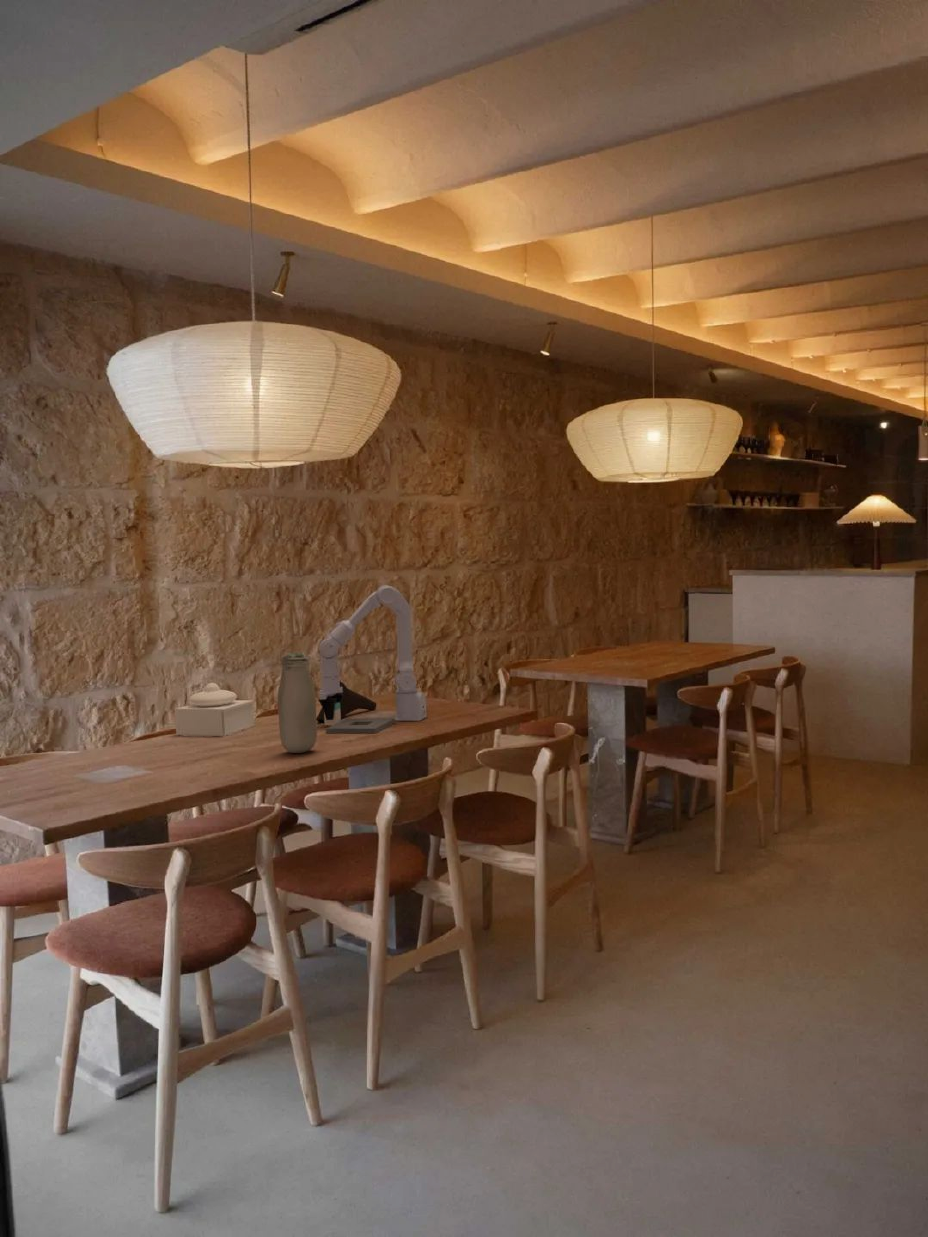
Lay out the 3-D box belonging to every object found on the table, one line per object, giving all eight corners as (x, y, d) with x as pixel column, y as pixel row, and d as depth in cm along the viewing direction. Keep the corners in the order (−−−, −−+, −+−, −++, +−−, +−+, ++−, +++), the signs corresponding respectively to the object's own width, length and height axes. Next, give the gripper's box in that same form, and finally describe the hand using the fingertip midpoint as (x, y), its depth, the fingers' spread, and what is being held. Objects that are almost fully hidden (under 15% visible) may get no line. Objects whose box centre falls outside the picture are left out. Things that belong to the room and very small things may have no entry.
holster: (356, 745, 343) (311, 718, 324) (370, 702, 349) (327, 673, 330) (368, 747, 340) (323, 719, 321) (381, 702, 346) (338, 673, 327)
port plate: (394, 722, 317) (394, 718, 317) (375, 733, 300) (375, 728, 299) (348, 723, 321) (347, 718, 321) (326, 733, 304) (325, 728, 304)
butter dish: (208, 726, 329) (205, 678, 328) (255, 727, 323) (252, 678, 322) (176, 736, 312) (172, 686, 311) (225, 737, 306) (222, 686, 305)
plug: (341, 723, 321) (339, 702, 320) (336, 725, 317) (335, 704, 316) (329, 723, 322) (328, 702, 321) (324, 725, 318) (323, 704, 317)
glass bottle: (297, 757, 269) (291, 654, 267) (274, 753, 276) (268, 653, 274) (325, 751, 276) (319, 650, 274) (302, 747, 283) (296, 649, 281)
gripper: (327, 673, 326) (329, 714, 327) (309, 679, 312) (311, 722, 313) (347, 673, 324) (349, 714, 325) (330, 679, 310) (332, 722, 311)
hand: (332, 718), depth 319 cm, fingers closed on plug, 4 cm apart
